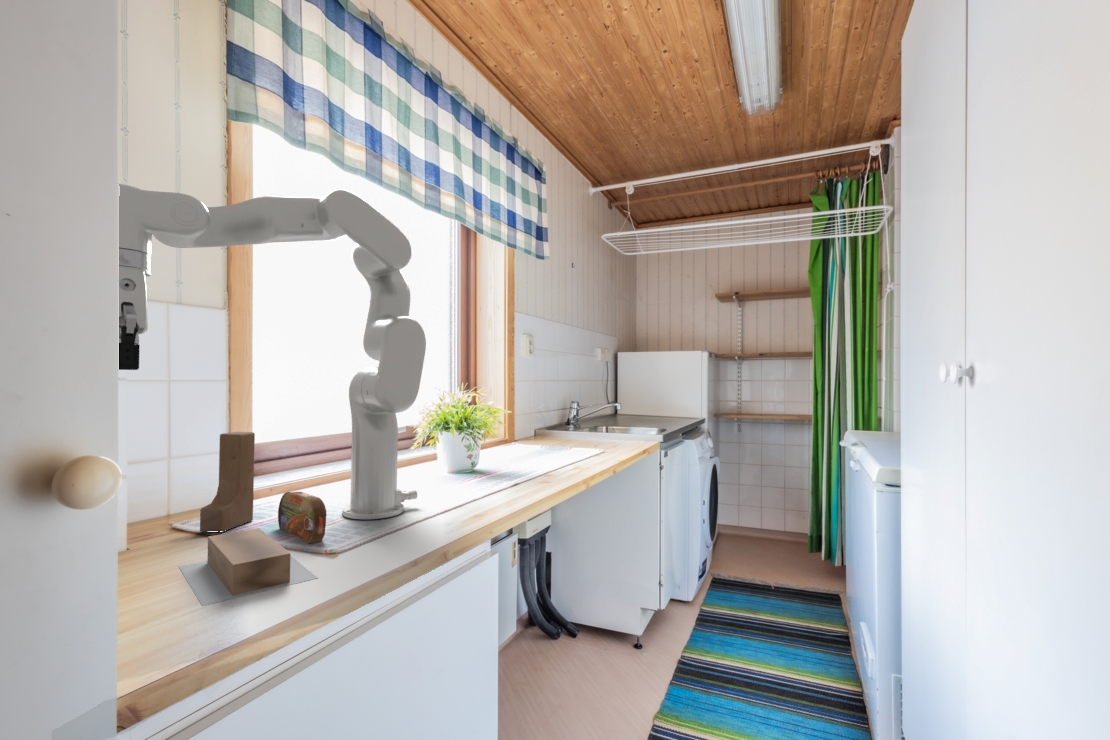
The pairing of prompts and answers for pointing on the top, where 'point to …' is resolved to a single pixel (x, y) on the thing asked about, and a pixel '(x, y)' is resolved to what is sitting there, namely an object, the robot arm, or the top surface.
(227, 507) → the wooden block
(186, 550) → the top surface
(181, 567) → the plate
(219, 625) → the top surface
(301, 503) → the tin
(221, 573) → the base block
